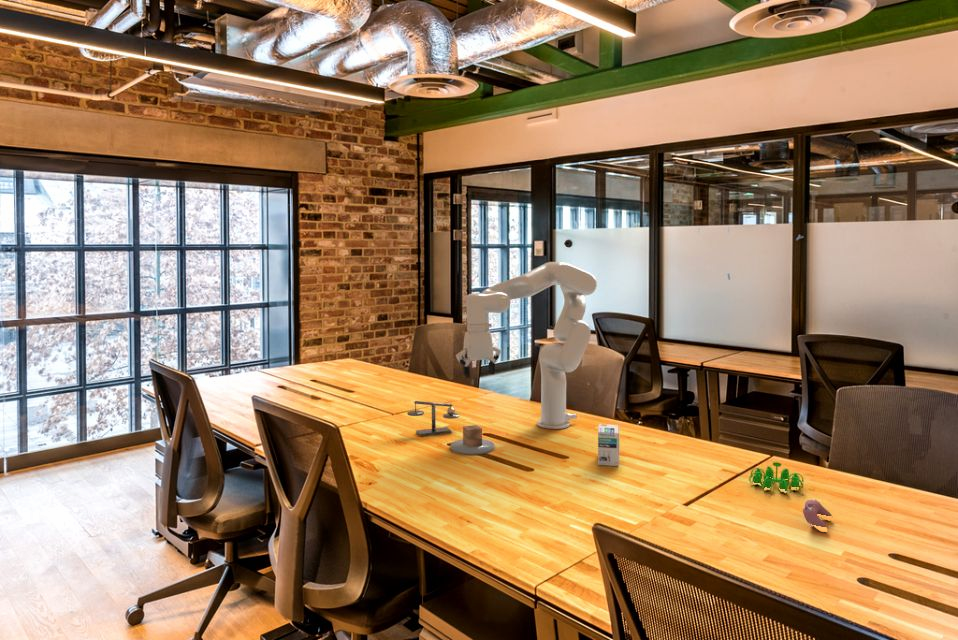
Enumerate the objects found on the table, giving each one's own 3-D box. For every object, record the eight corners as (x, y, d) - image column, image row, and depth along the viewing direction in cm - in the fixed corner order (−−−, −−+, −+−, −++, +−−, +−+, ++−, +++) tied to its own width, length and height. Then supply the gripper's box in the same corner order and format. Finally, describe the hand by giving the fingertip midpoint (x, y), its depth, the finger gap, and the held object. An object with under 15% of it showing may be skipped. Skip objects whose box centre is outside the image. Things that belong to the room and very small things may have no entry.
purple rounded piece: (815, 523, 171) (803, 497, 172) (834, 519, 169) (821, 492, 170) (810, 537, 163) (797, 509, 164) (829, 533, 161) (816, 505, 162)
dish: (483, 439, 240) (483, 436, 240) (501, 451, 227) (501, 448, 226) (444, 444, 234) (444, 441, 234) (459, 457, 221) (459, 453, 221)
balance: (455, 428, 256) (455, 395, 254) (461, 432, 250) (461, 398, 249) (405, 433, 248) (405, 400, 247) (410, 438, 243) (410, 403, 241)
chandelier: (758, 495, 186) (759, 471, 186) (740, 477, 201) (741, 455, 201) (813, 497, 185) (815, 472, 185) (792, 478, 200) (793, 456, 200)
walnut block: (476, 441, 234) (476, 424, 233) (482, 445, 229) (482, 428, 228) (463, 443, 232) (462, 426, 231) (468, 447, 227) (468, 430, 226)
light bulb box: (619, 466, 211) (619, 433, 210) (597, 465, 212) (597, 432, 211) (618, 456, 221) (619, 424, 220) (598, 455, 222) (598, 423, 221)
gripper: (494, 324, 246) (496, 370, 249) (451, 329, 239) (453, 376, 241) (504, 327, 240) (505, 374, 242) (459, 331, 232) (461, 380, 235)
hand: (479, 375), depth 242 cm, fingers open, 9 cm apart
